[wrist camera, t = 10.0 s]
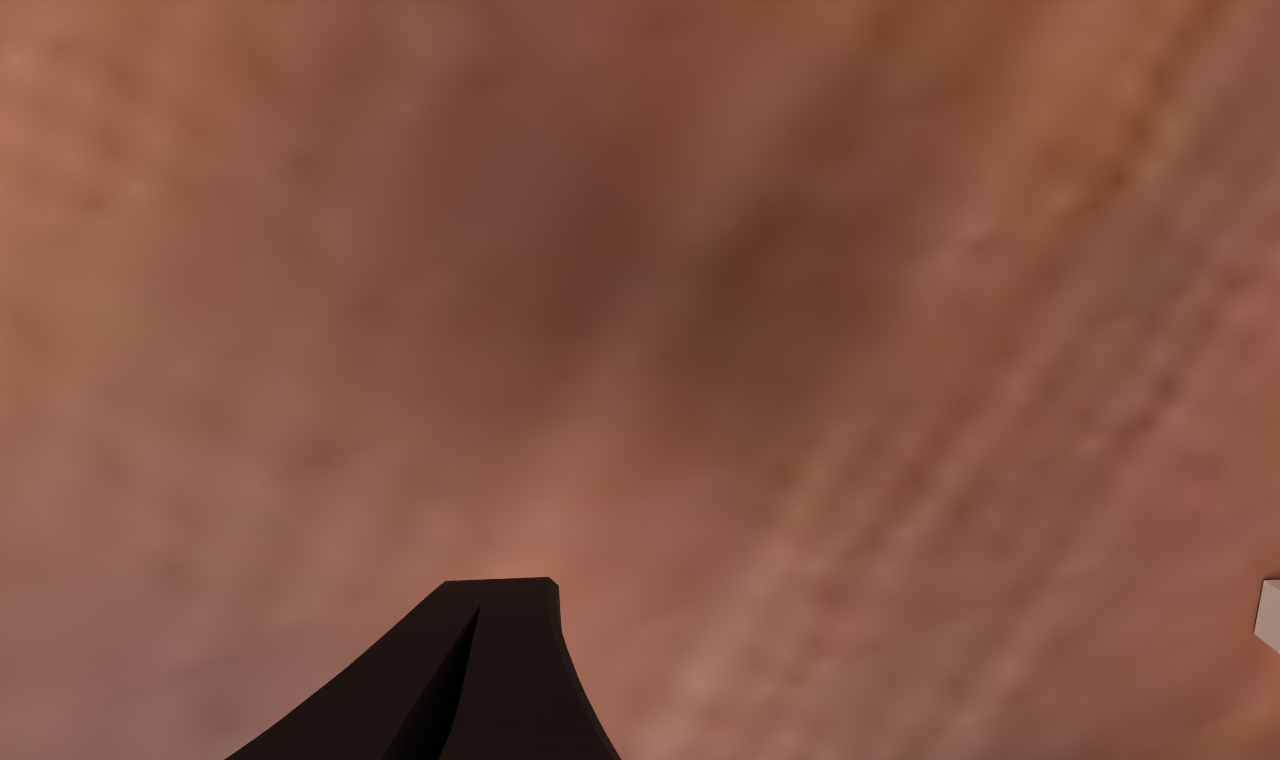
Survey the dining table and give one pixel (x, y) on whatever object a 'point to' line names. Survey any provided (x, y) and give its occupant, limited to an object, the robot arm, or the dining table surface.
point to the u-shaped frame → (1269, 615)
